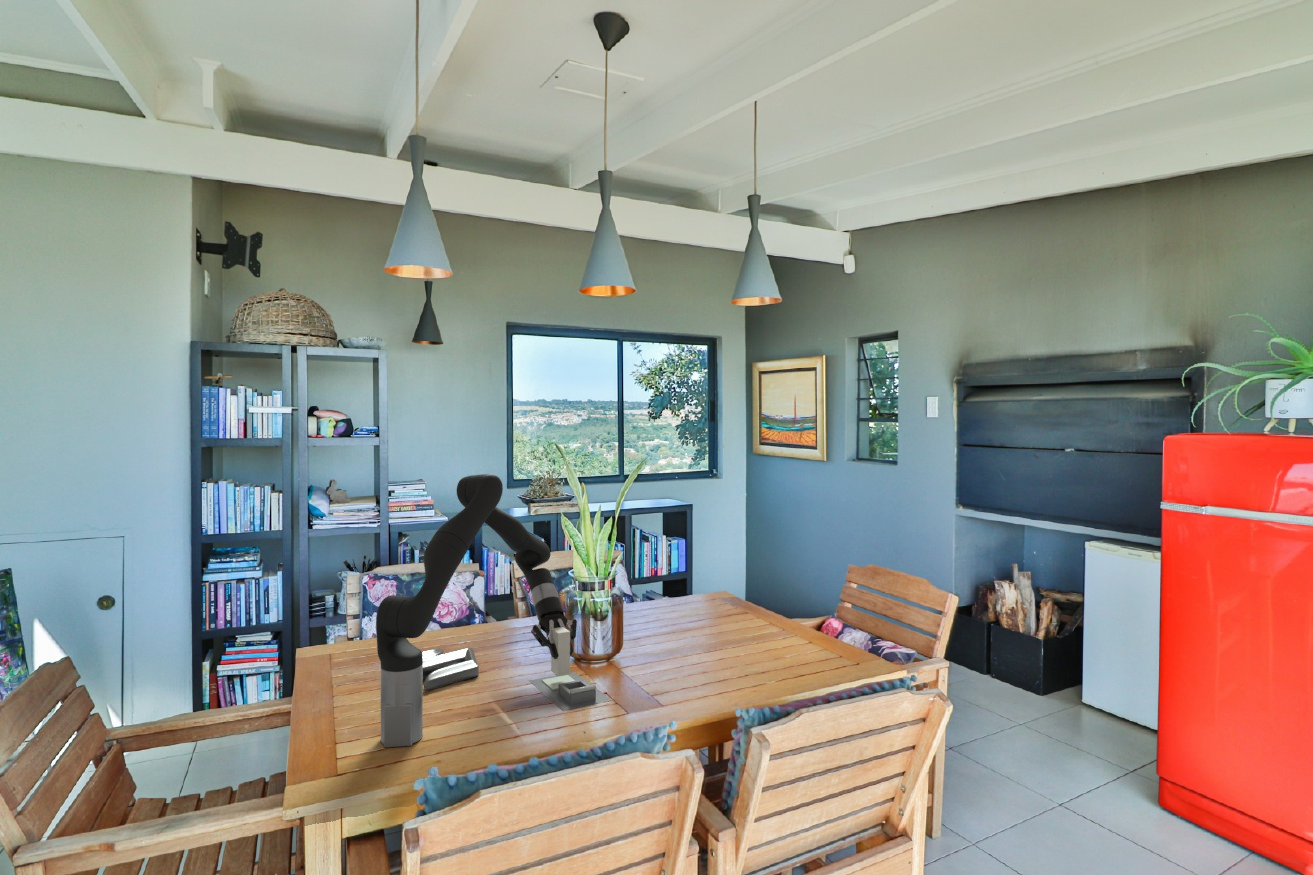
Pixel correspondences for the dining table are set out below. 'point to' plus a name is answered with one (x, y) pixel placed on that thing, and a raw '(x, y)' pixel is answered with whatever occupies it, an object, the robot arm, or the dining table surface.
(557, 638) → the cream rectangular block
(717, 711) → the dining table surface
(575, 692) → the grey socket base
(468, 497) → the robot arm
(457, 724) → the dining table surface
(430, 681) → the emblem
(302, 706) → the dining table surface
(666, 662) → the dining table surface
